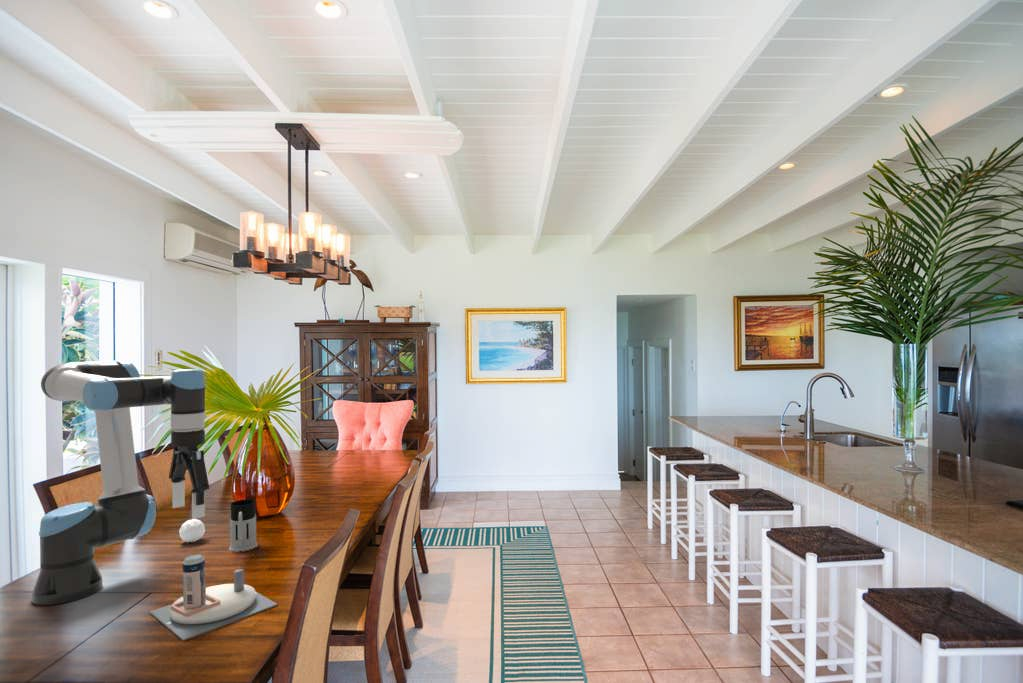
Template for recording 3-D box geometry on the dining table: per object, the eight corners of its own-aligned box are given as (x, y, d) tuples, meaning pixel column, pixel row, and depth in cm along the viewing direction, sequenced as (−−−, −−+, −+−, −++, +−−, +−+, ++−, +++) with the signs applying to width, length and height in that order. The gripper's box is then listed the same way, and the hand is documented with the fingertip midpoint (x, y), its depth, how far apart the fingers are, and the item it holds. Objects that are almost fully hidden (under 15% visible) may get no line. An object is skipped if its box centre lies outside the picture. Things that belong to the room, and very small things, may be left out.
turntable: (193, 631, 127) (193, 603, 127) (156, 611, 138) (155, 584, 138) (270, 600, 143) (269, 574, 143) (231, 583, 154) (230, 560, 154)
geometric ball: (191, 551, 191) (181, 537, 186) (181, 539, 195) (171, 525, 190) (212, 535, 195) (203, 522, 190) (202, 524, 200) (192, 510, 195)
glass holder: (258, 541, 191) (258, 497, 192) (255, 555, 178) (254, 508, 178) (230, 544, 188) (230, 500, 189) (224, 559, 175) (224, 511, 175)
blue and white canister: (208, 604, 137) (207, 556, 137) (187, 612, 134) (186, 562, 134) (201, 599, 140) (200, 552, 141) (180, 606, 137) (179, 557, 137)
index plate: (183, 641, 125) (183, 637, 125) (149, 613, 139) (149, 609, 139) (277, 605, 142) (277, 602, 142) (239, 583, 156) (239, 580, 156)
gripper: (223, 432, 137) (223, 518, 137) (186, 423, 153) (186, 499, 153) (190, 436, 131) (190, 526, 131) (155, 426, 147) (155, 506, 147)
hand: (188, 512), depth 142 cm, fingers open, 13 cm apart
